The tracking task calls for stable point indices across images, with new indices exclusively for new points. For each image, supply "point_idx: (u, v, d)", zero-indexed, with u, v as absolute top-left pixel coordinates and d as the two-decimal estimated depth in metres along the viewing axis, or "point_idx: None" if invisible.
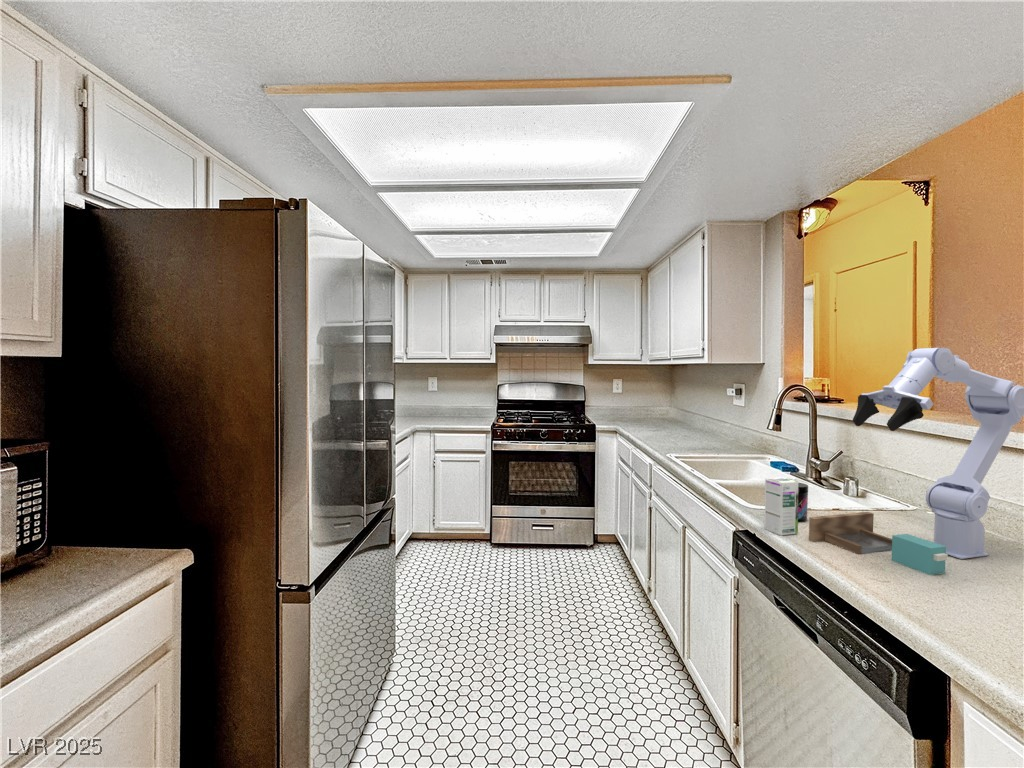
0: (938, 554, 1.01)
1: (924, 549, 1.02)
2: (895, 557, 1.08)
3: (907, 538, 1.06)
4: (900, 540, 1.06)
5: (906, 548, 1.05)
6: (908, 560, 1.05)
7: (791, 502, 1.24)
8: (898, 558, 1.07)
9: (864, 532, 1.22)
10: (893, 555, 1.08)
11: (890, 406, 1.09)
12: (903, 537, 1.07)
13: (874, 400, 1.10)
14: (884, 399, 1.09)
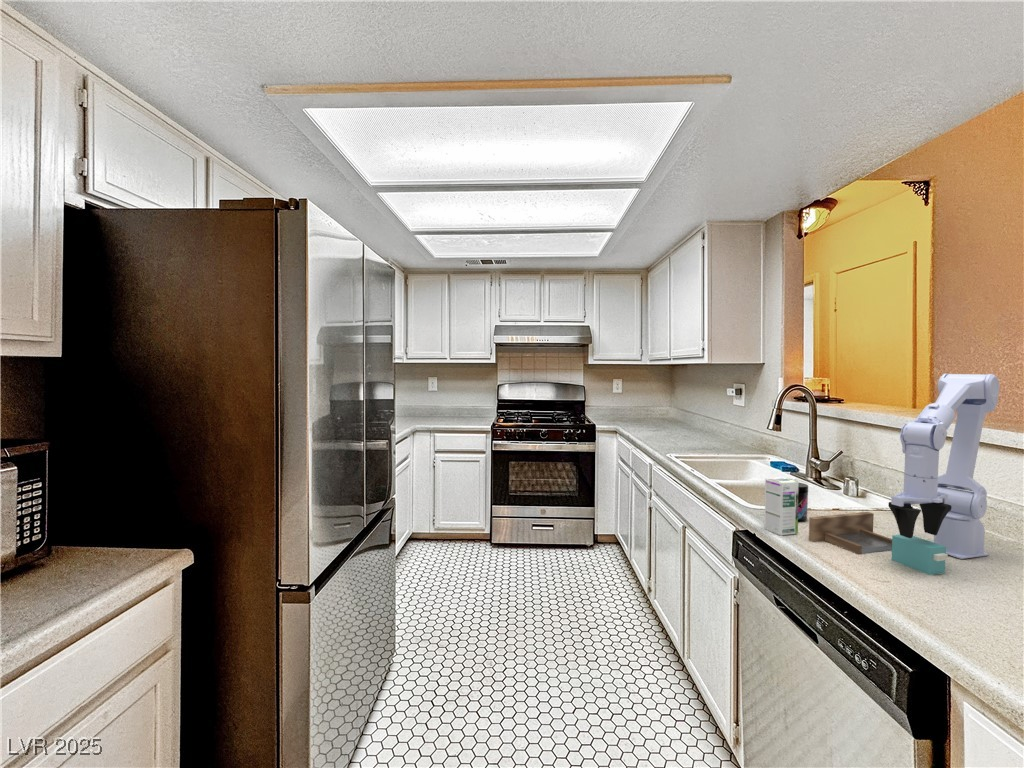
0: (938, 554, 1.01)
1: (924, 549, 1.02)
2: (895, 557, 1.08)
3: (907, 538, 1.06)
4: (900, 540, 1.06)
5: (906, 548, 1.05)
6: (908, 560, 1.05)
7: (791, 502, 1.24)
8: (898, 558, 1.07)
9: (864, 532, 1.22)
10: (893, 555, 1.08)
11: None
12: (903, 537, 1.07)
13: (909, 503, 1.03)
14: None
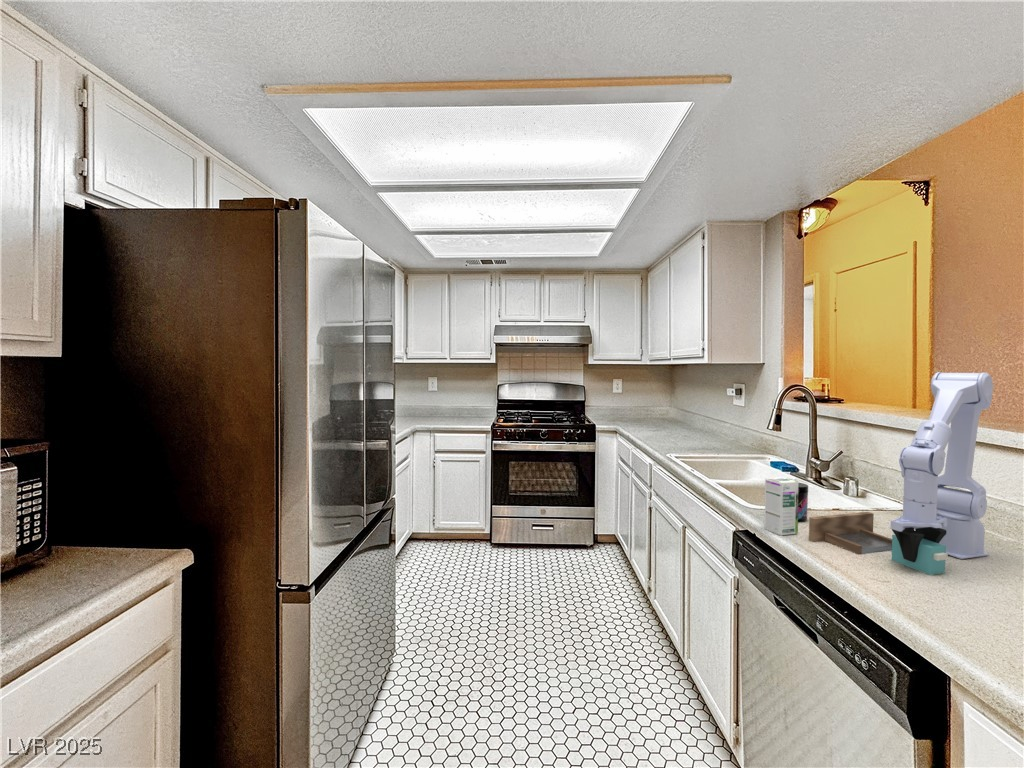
0: (938, 553, 1.01)
1: (924, 548, 1.02)
2: (895, 557, 1.08)
3: None
4: None
5: None
6: None
7: (791, 502, 1.24)
8: (898, 558, 1.07)
9: (864, 532, 1.22)
10: (893, 555, 1.08)
11: None
12: None
13: (908, 527, 1.03)
14: None
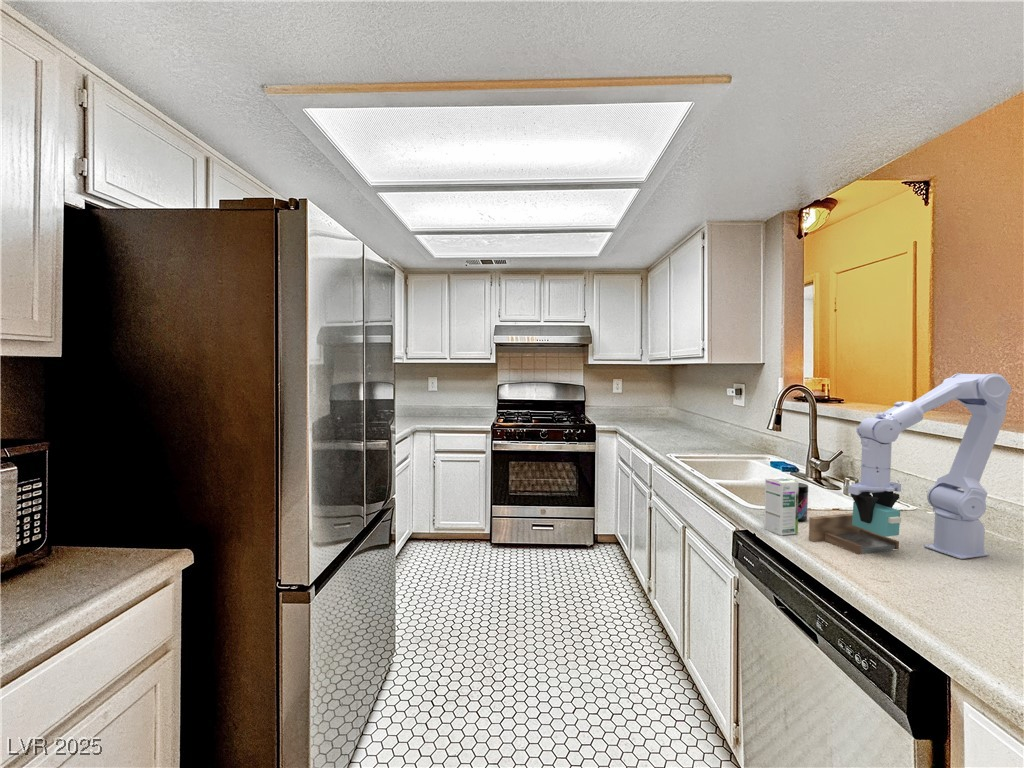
0: (892, 517, 1.10)
1: (880, 513, 1.11)
2: (855, 521, 1.17)
3: None
4: None
5: None
6: (866, 524, 1.14)
7: (791, 502, 1.24)
8: (858, 522, 1.16)
9: (864, 532, 1.22)
10: (854, 520, 1.17)
11: None
12: None
13: (864, 491, 1.13)
14: None
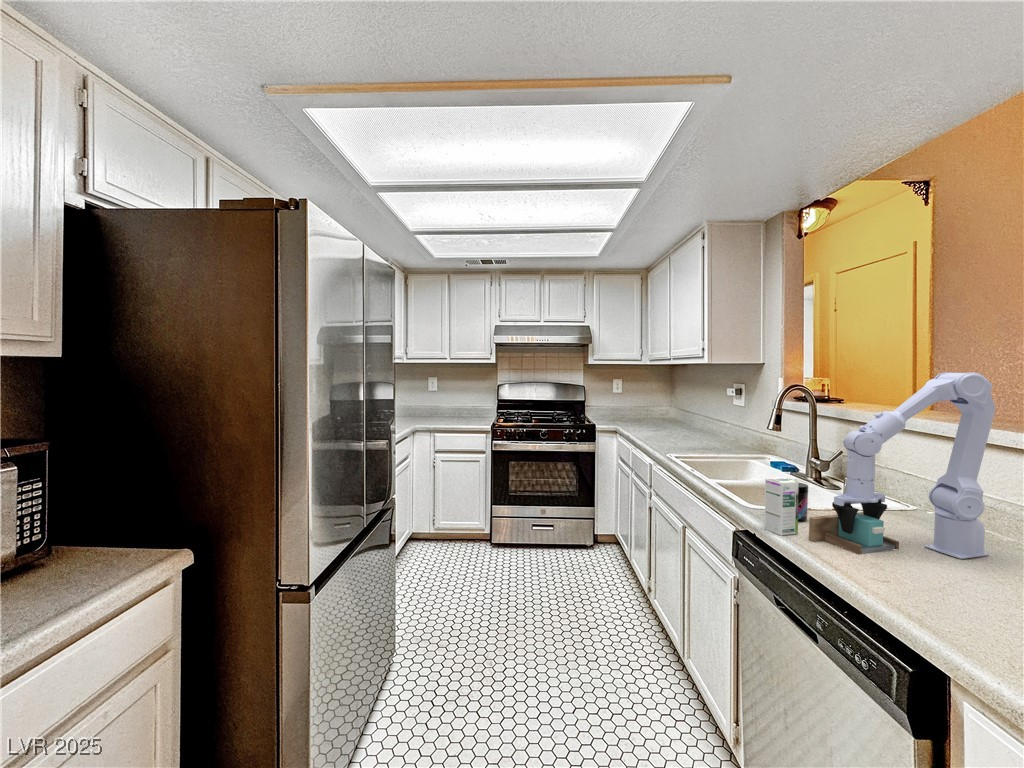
0: (876, 527, 1.13)
1: (864, 523, 1.15)
2: (841, 532, 1.20)
3: None
4: None
5: None
6: (852, 534, 1.18)
7: (791, 502, 1.24)
8: (843, 532, 1.20)
9: None
10: (839, 530, 1.21)
11: None
12: None
13: (849, 502, 1.17)
14: None
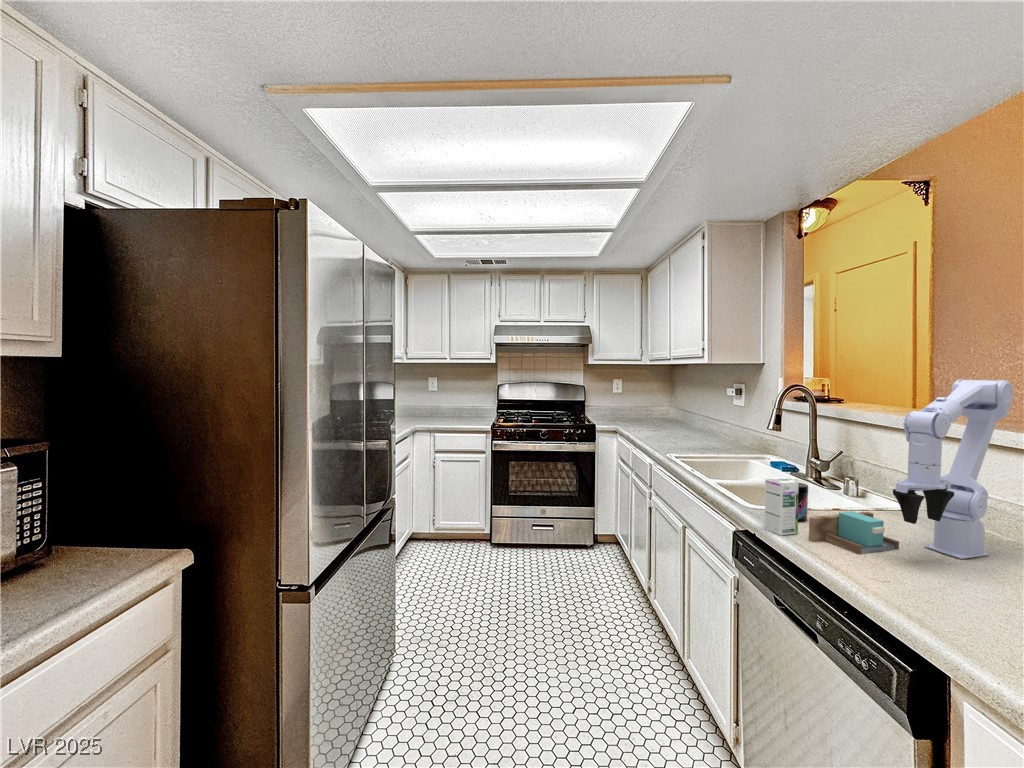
0: (876, 527, 1.13)
1: (864, 523, 1.15)
2: (841, 532, 1.20)
3: (851, 514, 1.19)
4: (845, 516, 1.19)
5: (850, 523, 1.18)
6: (852, 534, 1.18)
7: (791, 502, 1.24)
8: (843, 532, 1.20)
9: None
10: (839, 530, 1.21)
11: None
12: (848, 514, 1.20)
13: (912, 489, 1.06)
14: None
